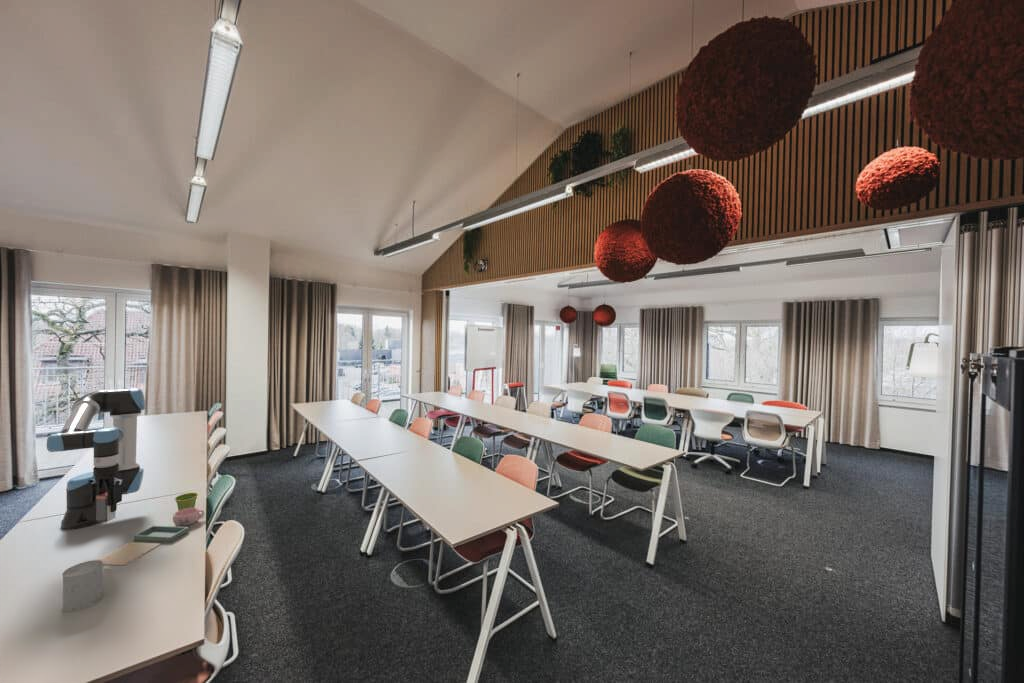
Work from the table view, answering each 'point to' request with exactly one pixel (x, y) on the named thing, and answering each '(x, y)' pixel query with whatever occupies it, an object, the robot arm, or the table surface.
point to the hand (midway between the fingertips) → (106, 518)
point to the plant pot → (186, 501)
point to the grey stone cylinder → (82, 585)
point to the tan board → (128, 553)
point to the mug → (186, 516)
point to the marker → (101, 507)
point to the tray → (161, 534)
